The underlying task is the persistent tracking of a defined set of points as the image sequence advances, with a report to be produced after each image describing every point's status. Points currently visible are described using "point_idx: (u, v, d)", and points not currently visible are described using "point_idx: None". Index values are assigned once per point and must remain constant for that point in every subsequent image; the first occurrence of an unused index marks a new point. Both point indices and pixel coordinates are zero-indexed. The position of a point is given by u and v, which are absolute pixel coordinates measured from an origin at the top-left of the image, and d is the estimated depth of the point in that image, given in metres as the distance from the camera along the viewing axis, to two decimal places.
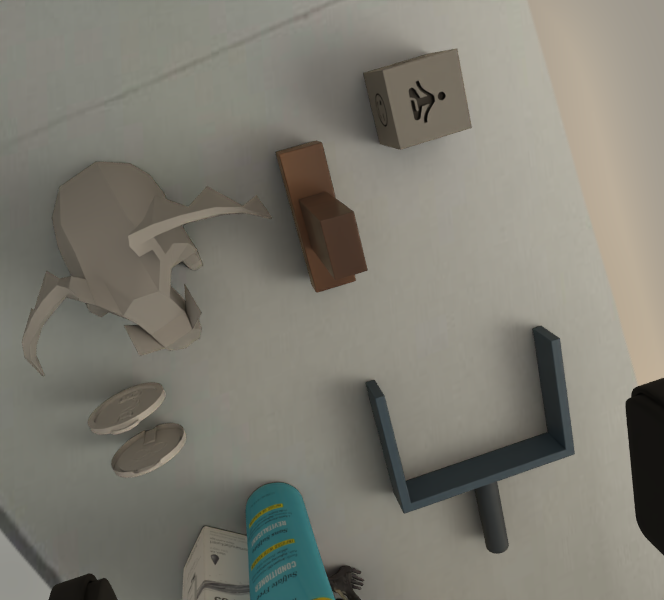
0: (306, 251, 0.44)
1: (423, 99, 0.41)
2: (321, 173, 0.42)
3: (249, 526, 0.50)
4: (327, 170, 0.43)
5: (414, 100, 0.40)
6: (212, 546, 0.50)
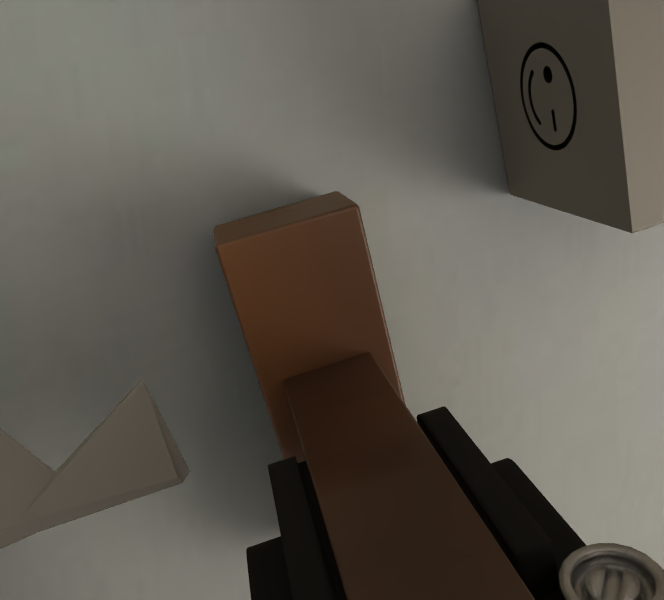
0: None
1: None
2: (356, 298, 0.13)
3: None
4: (374, 290, 0.13)
5: None
6: None
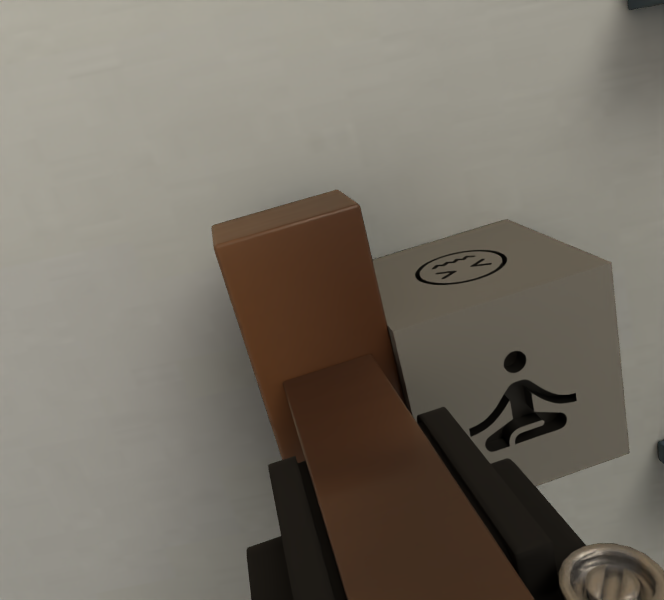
0: None
1: (510, 397, 0.15)
2: (357, 300, 0.13)
3: None
4: (375, 291, 0.13)
5: (517, 432, 0.15)
6: None
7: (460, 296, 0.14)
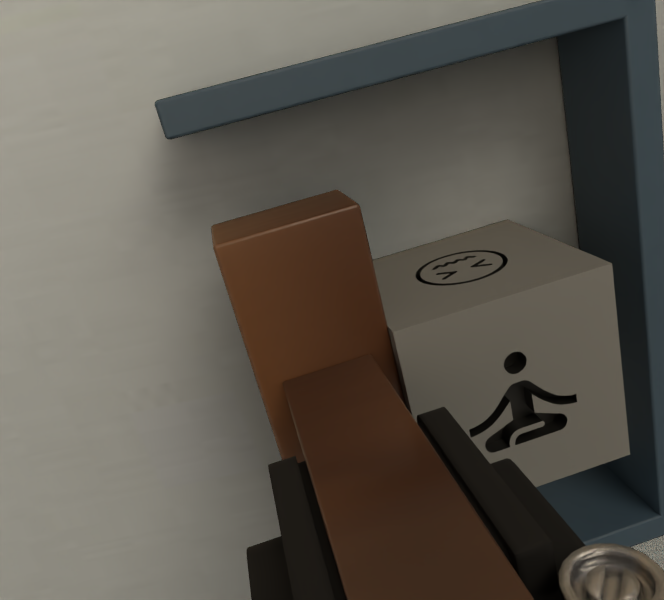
0: None
1: (511, 398, 0.15)
2: (357, 299, 0.13)
3: None
4: (375, 291, 0.13)
5: (517, 433, 0.15)
6: None
7: (460, 297, 0.14)
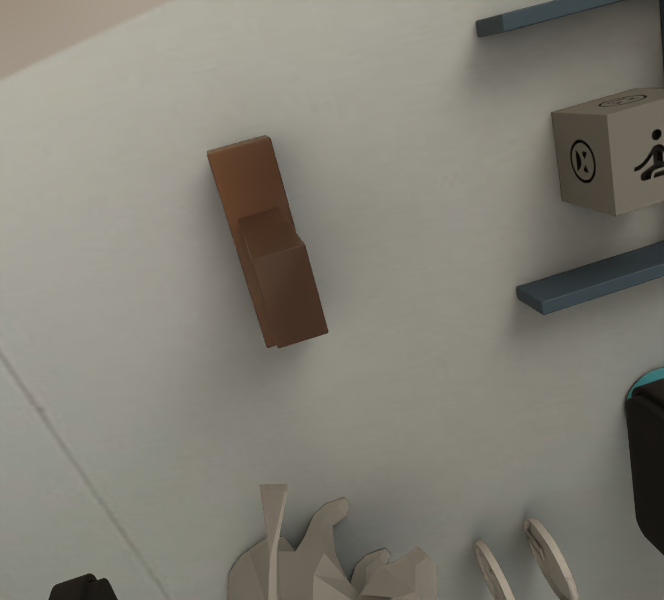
0: (251, 292, 0.31)
1: (651, 156, 0.31)
2: (271, 181, 0.30)
3: None
4: (279, 177, 0.30)
5: (655, 171, 0.31)
6: None
7: (631, 104, 0.31)
